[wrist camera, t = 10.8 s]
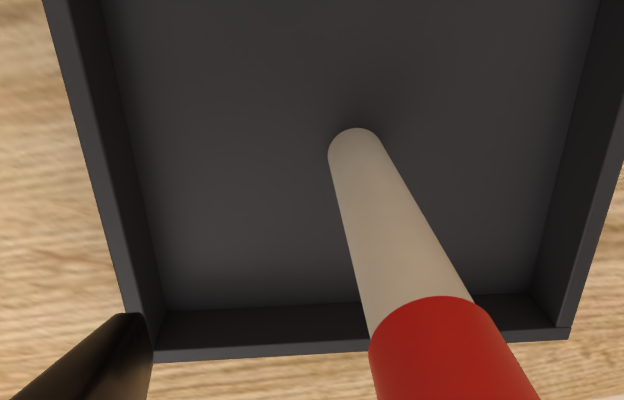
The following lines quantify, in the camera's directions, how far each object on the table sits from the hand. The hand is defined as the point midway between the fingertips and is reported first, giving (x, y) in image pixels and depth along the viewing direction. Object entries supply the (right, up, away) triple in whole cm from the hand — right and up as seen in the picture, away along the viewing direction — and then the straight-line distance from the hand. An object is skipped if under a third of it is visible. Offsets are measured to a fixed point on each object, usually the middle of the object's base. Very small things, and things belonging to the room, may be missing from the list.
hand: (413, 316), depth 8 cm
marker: (0, +4, +7) cm, 8 cm away
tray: (0, +4, +8) cm, 8 cm away
